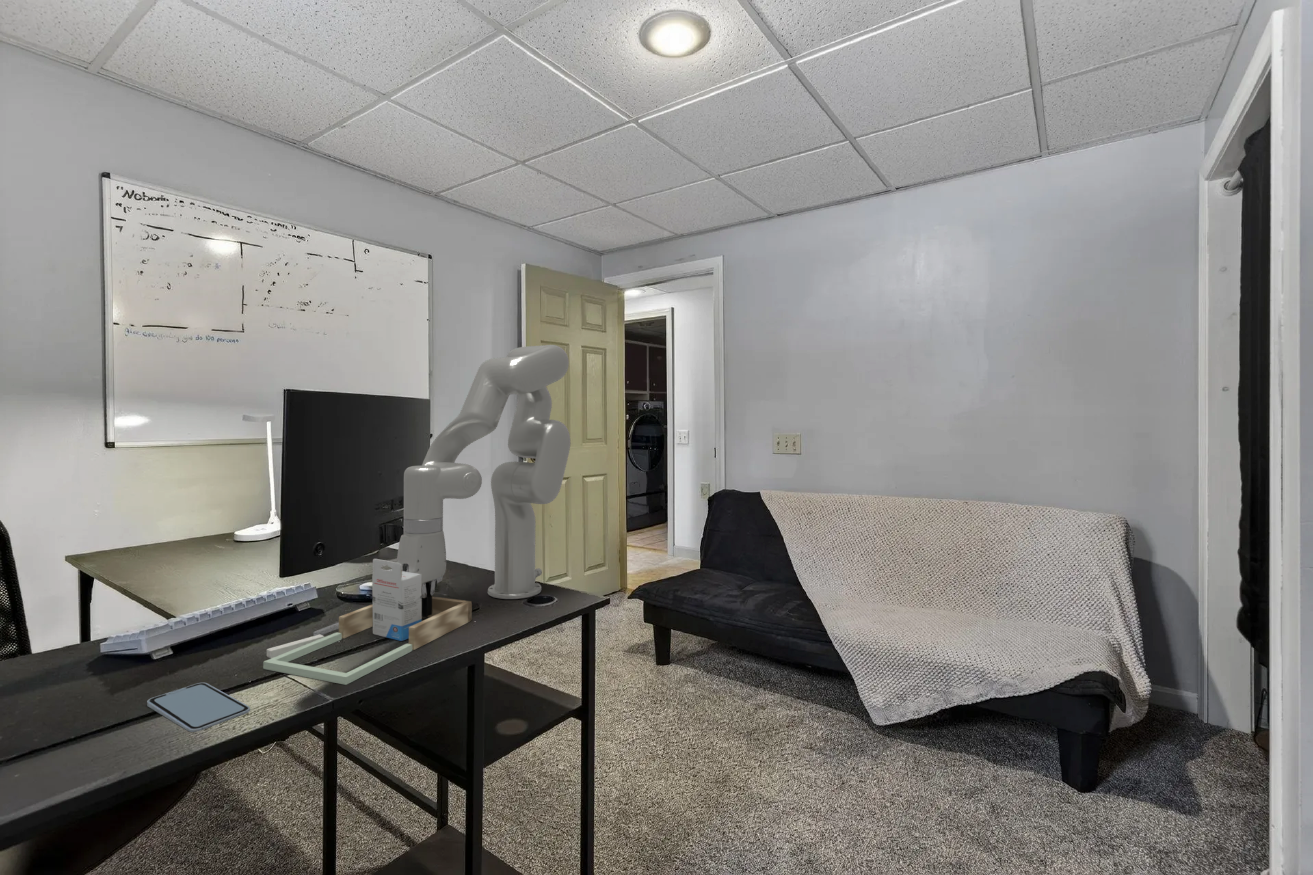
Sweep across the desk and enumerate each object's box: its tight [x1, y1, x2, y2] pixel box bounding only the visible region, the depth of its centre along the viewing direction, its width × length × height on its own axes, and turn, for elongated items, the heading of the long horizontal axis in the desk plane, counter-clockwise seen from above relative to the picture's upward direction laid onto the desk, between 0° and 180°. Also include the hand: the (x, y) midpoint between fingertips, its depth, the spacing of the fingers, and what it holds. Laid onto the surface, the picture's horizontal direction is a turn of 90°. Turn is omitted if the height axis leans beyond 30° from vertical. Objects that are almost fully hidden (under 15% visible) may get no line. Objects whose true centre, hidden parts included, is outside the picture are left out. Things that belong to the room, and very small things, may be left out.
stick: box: [266, 634, 325, 659], centre depth 107 cm, size 9×2×2 cm, turn 145°
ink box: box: [371, 558, 423, 642], centre depth 115 cm, size 9×5×15 cm, turn 62°
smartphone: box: [146, 682, 251, 733], centre depth 85 cm, size 7×1×15 cm
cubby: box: [338, 596, 473, 651], centre depth 118 cm, size 17×17×4 cm
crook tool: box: [313, 621, 339, 636], centre depth 119 cm, size 12×5×1 cm, turn 161°
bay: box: [262, 631, 413, 686], centre depth 103 cm, size 15×17×1 cm
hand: (422, 614), depth 122 cm, fingers closed
